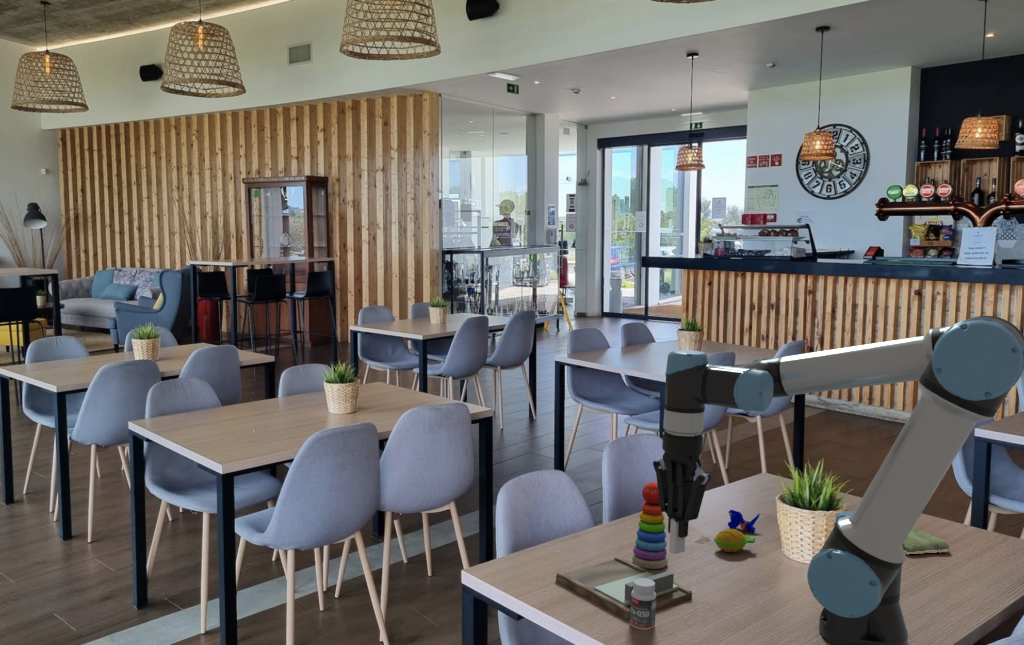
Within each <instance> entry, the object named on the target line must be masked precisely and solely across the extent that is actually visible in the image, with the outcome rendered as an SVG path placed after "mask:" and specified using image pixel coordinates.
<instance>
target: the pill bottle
mask: <svg viewBox="0 0 1024 645" xmlns="http://www.w3.org/2000/svg"><path fill="white" fill-rule="evenodd" d="M633 589H634V590H632V592H631V608H630V619H629V624H630V626H631V627H633V628H635V629H637V630H641V631H648V630H652V629H654V628H655V626H656V614H657V613H656V611H657V610H656V593H655V592H654V591H655V582H654V581H653V580H650V579H647V578H639V579H636V580H634V587H633Z"/></svg>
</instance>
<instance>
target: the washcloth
mask: <svg viewBox="0 0 1024 645" xmlns="http://www.w3.org/2000/svg"><path fill="white" fill-rule="evenodd" d="M933 549H934V550H939V549H940V550H942V549H949V550H950V547H949V543H948V542H947V541H946V540H944V539H942V538H939V537H936V536H933V535H932V534H930V533H927V532H925V531H922V530H920V529H919V528H916V527H914V526H913V527H912V529H911V531H910V532H909V534H908V536H907V537H906V539H905V541H904V542H903V550H906V551H907V552H914V551H915V552H916V551H925V550H933Z"/></svg>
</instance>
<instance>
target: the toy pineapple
mask: <svg viewBox="0 0 1024 645" xmlns="http://www.w3.org/2000/svg"><path fill="white" fill-rule="evenodd" d="M713 541H714V542H715V544H716V546H717V547H718V548H719V549H720V550H721V551H724V552H726V553H736V552H738V551H741V550H743V548H744V547H745V546H746V545H747V544H755V542H756V538H755V537H751V536H750V535H746V534H745V535H744V534H743V533H742V532H741V531H739V530H738V529H737V528H736V529H730V528H725V529H723V530H721V531H719V532H718V533H717V534H716V536H715V537H714V539H713Z"/></svg>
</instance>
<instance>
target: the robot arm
mask: <svg viewBox="0 0 1024 645" xmlns="http://www.w3.org/2000/svg"><path fill="white" fill-rule="evenodd" d="M708 359H709V358H708V354H707V353H706V352H704V351H699V350H692V349H676V350H672V351H670V352H669V353H668V355H667V362H666V370H665V373H664V375H665V384H664V385H665V386H664V389H665V390H664V408H663V409H664V410H663V412H664V413H663V424H662V428H663V429H664V431H663V432H662V443H661V444H662V446H661V448H662V450H663V451H664V453H663V455H662V458H660V459H659V460H654V461H653V462H652V466H653V469H654V471H655V474H656V483H657V484H658V492H659V501H660V509H661V511H662V513H666V516H667V517H668V520H667V522H668V523H667V524H668V525H667V531H668V534H669V546H668V552H669V553H671V554H673V555H677V554H681V553H684V552H685V551H686V548H685V547H686V538H687V537H688V535H689V522H690V521H694V520H697V519H698V518H699V514H700V511H701V507H702V504H703V498H704V495H705V492H706V487H707V485H708V484H709V482H710V481H711V479H712V475H711V474H710V473H705V471H704V470H703V469H702V463H701V460H700V457H701V455H702V454H703V448H704V447H703V446H704V445H703V444H704V435H703V434H702V432H704V425H705V424H704V422H705V408H706V407H705V406H706V405H710V406H717V407H724V408H730V409H734V410H736V409H737V410H741V411H744V412H760V413H761V412H765V411H767V409H769V406H770V405H771V404H772V401H773V399H774V398H782V397H788V396H789V397H790V396H795V395H796V396H797V395H804V394H813V393H821V392H822V393H823V392H830V391H839V390H848V389H849V390H850V389H855V388H864V387H873V386H881V385H882V386H883V385H890V384H891V385H892V384H899V383H906V382H915V381H917V383H918V386H919V389H920V392H921V396H920V397H919V400H918V401H917V402H916V405H915V406H914V408H913V410H912V412H911V413H910V415H909V417H908V418H907V420H906V422H905V423H904V425H903V427H902V429H901V430H900V432H899V434H898V435H897V438H896V439H895V441H894V443H893V445H892V446H891V448H890V450H889V452H888V453H887V454H886V456H885V459H884V460H883V462H882V463H881V465H880V467H879V469H878V470H877V472H876V474H875V475H874V476H873V479H872V480H871V483H870V484H869V486H868V488H867V489H866V491H865V492H864V494H863V496H862V498H861V500H860V501H859V503H858V505H857V506H856V508H855V510H853V511H852V510H851V511H849V510H848V511H840V512H838V513H837V514H836V516H835V520H834V523H833V527H832V528H833V529H832V530H831V532H830V533H829V534H828V537H827V538H826V540H825V542H824V544H823V545H822V547H821V549H820V550H819V551H818V552H817V553H816V554H815V555H814V556H812V558H811V559H810V561H809V566H808V569H807V576H806V578H807V583H808V586H809V589H810V591H811V593H812V596H813V597H814V598H815V600H816V601H817V602H818V603H819V604H820V605H821V606H822V607H823V608H822V611H821V613H820V615H819V618H818V619H819V621H818V632H819V633H820V635H821V636H822V638H823V639H825V640H826V641H827V642H829V643H830V644H832V645H908V641H909V640H908V638H909V633H908V632H909V631H908V629H907V626H906V622H905V617H904V616H903V612H902V607H901V603H900V599H901V598H900V596H901V585H902V584H901V583H902V568H903V563H904V562H905V560H906V558H907V555H905V552H904V550H903V542H904V541H905V539H906V537H907V536H908V534H909V532H910V531H911V529H912V527H914V526H915V524H916V523H917V521H918V519H919V518H920V516H921V514H922V513H923V511H924V510H925V507H926V506H927V504H928V503H929V501H930V500H931V498H932V496H933V495H934V493H935V491H936V490H937V488H938V486H939V485H940V483H941V481H942V480H943V479H944V477H945V475H946V473H947V472H948V470H949V469H950V467H951V465H952V464H953V462H954V461H955V459H956V458H957V456H958V454H959V452H960V451H961V450H962V447H963V446H964V444H965V443H966V441H967V440H968V439H969V436H970V434H971V433H972V431H973V430H974V428H975V426H976V425H977V423H979V422H984V421H988V420H992V419H994V416H996V414H997V413H998V410H999V409H1000V408H1001V405H1002V404H1003V402H1004V401H1005V399H1006V398H1007V397H1008V394H1010V391H1011V390H1012V388H1013V387H1014V386H1015V385H1016V384H1017V383H1018V382H1019V380H1020V378H1021V376H1022V375H1023V372H1024V334H1023V333H1022V331H1021V330H1020V329H1019V328H1018V327H1017V326H1016V325H1015V324H1013V323H1012V322H1011V321H1008V320H1006V319H1005V318H1002V317H998V316H994V315H980V316H974V317H971V318H968V319H965V320H962V321H959V322H957V323H954V324H950V325H944V326H940V327H933V328H930V329H928V331H927V332H926V333H925V334H924V335H919V336H913V337H912V336H911V337H906V338H900V339H899V338H897V339H892V340H886V341H880V342H879V341H878V342H871V343H867V344H860V345H859V344H858V345H852V346H847V347H840V348H839V347H838V348H833V349H832V348H831V349H826V350H820V351H819V350H818V351H811V352H805V353H798V354H792V355H786V356H783V357H781V356H780V357H774V358H773V357H772V358H759V359H755V360H753V361H751V362H749V363H744V364H740V365H737V366H729V365H728V366H727V365H718V364H712V363H709V360H708Z"/></svg>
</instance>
